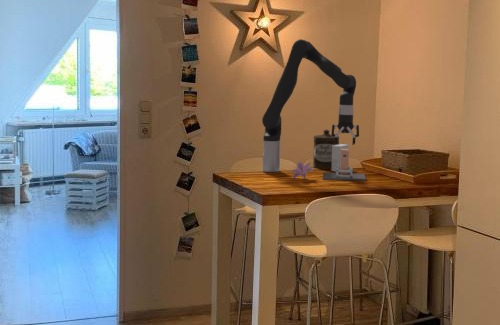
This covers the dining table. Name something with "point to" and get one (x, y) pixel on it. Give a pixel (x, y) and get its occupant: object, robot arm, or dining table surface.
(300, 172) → the lily
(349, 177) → the collar stand
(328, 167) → the labeled lidded canister
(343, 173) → the pink rectangular block
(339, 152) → the skincare box
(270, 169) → the robot arm
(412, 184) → the dining table surface
